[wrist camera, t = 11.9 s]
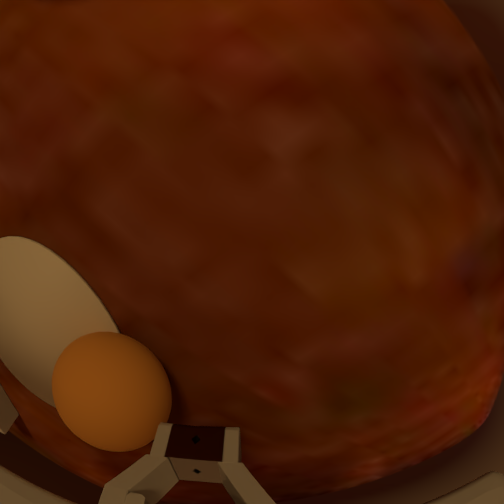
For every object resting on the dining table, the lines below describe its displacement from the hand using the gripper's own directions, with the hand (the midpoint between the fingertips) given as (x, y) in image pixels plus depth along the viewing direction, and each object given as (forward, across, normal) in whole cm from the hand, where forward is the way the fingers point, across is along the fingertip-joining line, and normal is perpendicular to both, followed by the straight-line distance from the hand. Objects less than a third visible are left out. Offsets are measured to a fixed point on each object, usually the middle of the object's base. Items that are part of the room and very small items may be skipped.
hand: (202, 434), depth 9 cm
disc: (+4, +11, 0) cm, 12 cm away
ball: (+2, +4, 0) cm, 5 cm away
